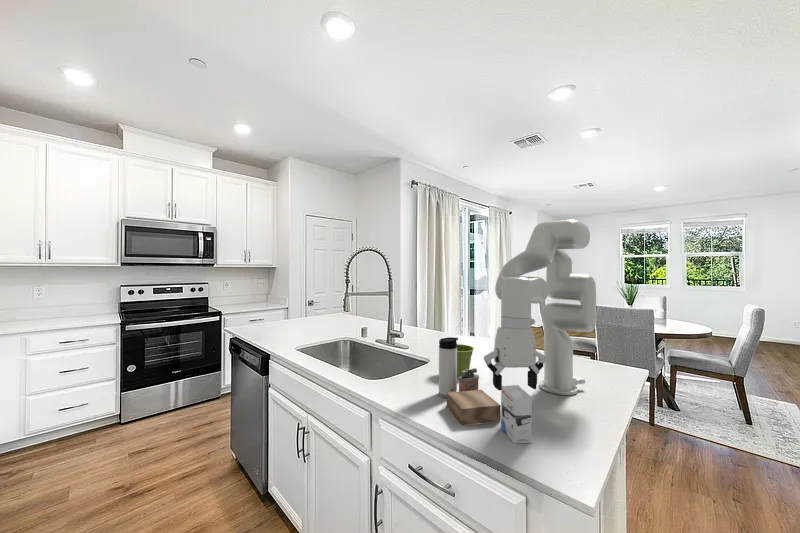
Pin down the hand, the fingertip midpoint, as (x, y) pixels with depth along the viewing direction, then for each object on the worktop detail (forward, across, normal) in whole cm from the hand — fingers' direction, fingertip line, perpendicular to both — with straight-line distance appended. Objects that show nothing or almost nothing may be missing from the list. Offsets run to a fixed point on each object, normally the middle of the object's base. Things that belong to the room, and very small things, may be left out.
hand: (514, 388), depth 83 cm
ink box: (+13, -1, -1) cm, 13 cm away
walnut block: (+13, +6, -14) cm, 20 cm away
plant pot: (+12, -2, -49) cm, 50 cm away
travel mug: (+12, +9, -29) cm, 33 cm away
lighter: (+12, +3, -25) cm, 28 cm away
